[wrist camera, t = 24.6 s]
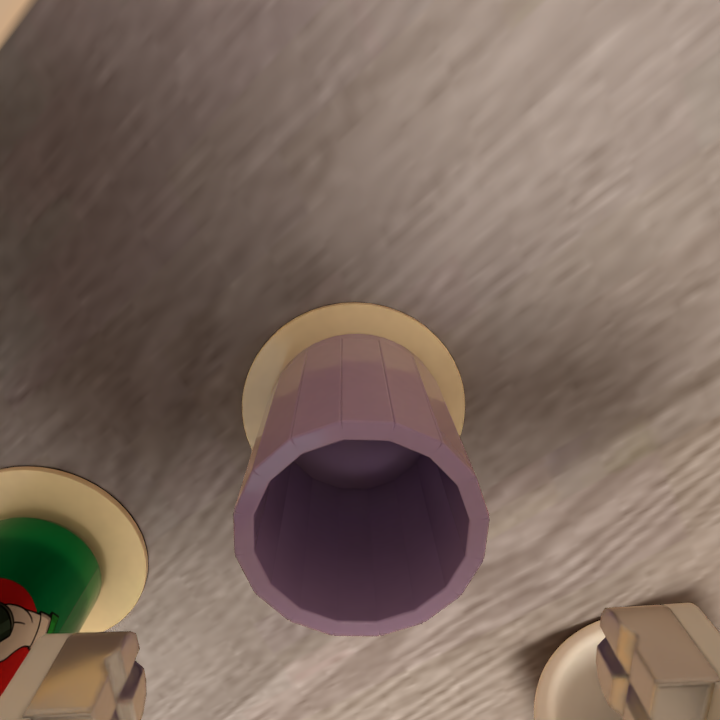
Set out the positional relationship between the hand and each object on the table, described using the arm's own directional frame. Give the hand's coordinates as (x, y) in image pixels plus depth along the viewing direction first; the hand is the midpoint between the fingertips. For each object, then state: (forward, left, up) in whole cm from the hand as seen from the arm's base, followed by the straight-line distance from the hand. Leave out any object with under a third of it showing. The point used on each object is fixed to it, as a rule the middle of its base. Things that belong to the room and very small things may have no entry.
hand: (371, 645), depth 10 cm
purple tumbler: (0, -1, -11) cm, 11 cm away
